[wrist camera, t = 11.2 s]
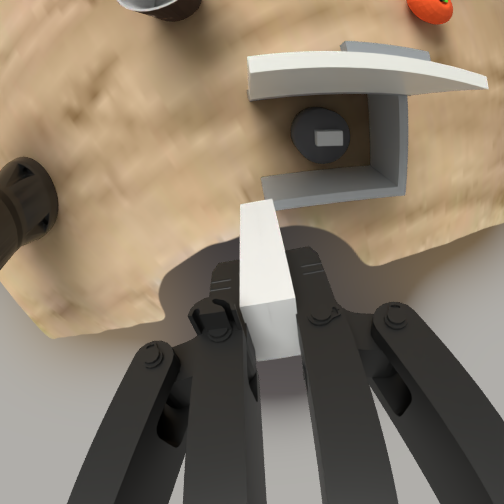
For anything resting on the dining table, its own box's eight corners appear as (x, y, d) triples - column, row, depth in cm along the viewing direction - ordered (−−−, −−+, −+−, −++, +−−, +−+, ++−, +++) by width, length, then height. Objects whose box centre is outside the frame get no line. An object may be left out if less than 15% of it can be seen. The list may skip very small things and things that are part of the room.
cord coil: (292, 158, 36) (298, 168, 32) (288, 107, 32) (295, 110, 28) (341, 155, 35) (353, 165, 31) (340, 106, 31) (353, 110, 28)
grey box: (261, 185, 38) (267, 216, 30) (246, 89, 30) (248, 90, 22) (377, 172, 37) (409, 198, 29) (374, 83, 29) (411, 86, 21)
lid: (250, 73, 12) (244, 44, 11) (250, 99, 22) (246, 82, 22) (488, 89, 11) (484, 66, 10) (413, 95, 21) (410, 79, 21)
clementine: (398, -25, 18) (423, -36, 12) (435, -4, 19) (463, -10, 13) (395, 13, 22) (423, 6, 17) (433, 33, 23) (462, 31, 17)
